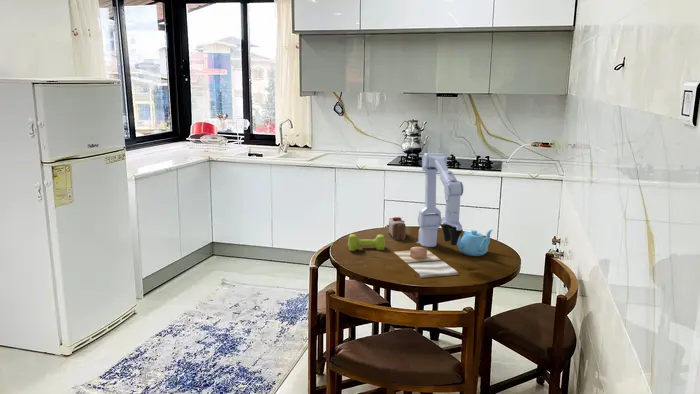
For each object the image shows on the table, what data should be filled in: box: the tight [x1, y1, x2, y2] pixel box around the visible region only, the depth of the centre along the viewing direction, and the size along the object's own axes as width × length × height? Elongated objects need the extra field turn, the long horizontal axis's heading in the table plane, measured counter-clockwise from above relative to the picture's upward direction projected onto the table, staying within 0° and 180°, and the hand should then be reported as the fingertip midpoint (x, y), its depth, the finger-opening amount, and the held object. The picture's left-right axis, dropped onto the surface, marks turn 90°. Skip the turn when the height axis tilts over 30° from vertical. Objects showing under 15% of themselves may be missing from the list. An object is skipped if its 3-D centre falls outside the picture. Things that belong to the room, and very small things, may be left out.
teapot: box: [456, 229, 494, 257], centre depth 232 cm, size 15×15×10 cm
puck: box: [409, 246, 428, 260], centre depth 222 cm, size 7×7×4 cm
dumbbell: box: [347, 233, 386, 252], centre depth 234 cm, size 16×8×7 cm, turn 90°
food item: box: [388, 216, 407, 241], centre depth 257 cm, size 14×8×10 cm, turn 6°
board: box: [393, 249, 459, 279], centre depth 217 cm, size 31×16×1 cm, turn 15°
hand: (450, 242), depth 214 cm, fingers open, 5 cm apart
